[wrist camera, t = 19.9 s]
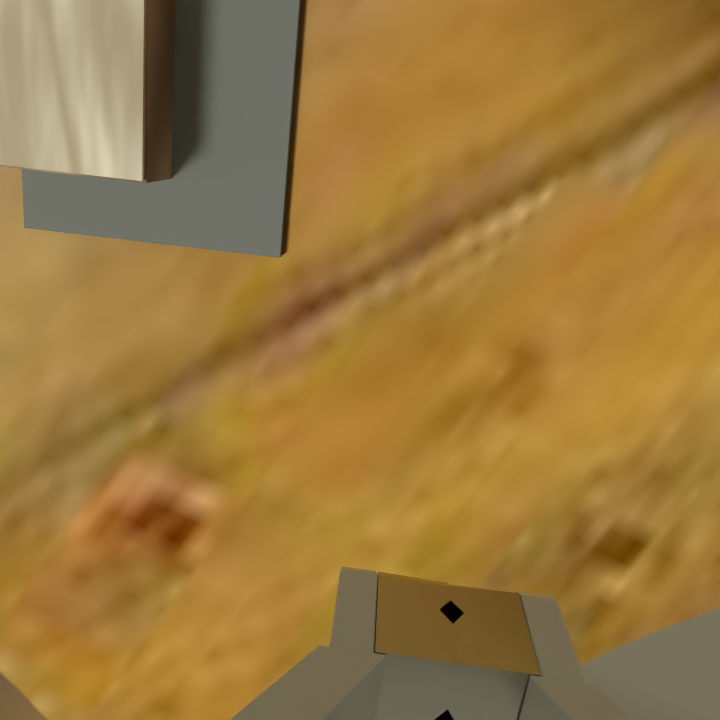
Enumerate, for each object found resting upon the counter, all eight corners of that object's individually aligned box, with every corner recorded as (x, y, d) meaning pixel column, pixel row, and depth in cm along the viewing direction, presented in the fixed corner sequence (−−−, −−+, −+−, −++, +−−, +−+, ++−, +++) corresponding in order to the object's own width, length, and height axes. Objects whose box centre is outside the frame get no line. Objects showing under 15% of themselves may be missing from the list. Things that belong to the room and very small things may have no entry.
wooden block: (146, -33, 29) (-40, -55, 29) (144, 183, 32) (-26, 163, 32) (175, -11, 33) (12, -30, 33) (171, 178, 36) (20, 161, 36)
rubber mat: (306, -74, 32) (305, -78, 32) (281, 255, 37) (279, 257, 37) (17, -109, 32) (10, -114, 32) (29, 226, 37) (24, 227, 37)
